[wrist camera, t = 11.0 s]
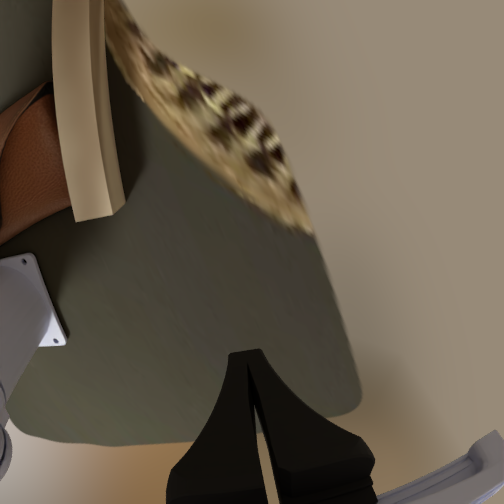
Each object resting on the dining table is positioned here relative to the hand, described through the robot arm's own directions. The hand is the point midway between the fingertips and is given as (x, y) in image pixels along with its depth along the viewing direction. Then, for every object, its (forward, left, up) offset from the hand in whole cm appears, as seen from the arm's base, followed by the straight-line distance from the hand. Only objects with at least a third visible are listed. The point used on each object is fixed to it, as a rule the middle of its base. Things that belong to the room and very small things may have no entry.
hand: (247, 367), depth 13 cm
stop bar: (-7, +15, -9) cm, 19 cm away
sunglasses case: (-17, +9, -10) cm, 22 cm away
